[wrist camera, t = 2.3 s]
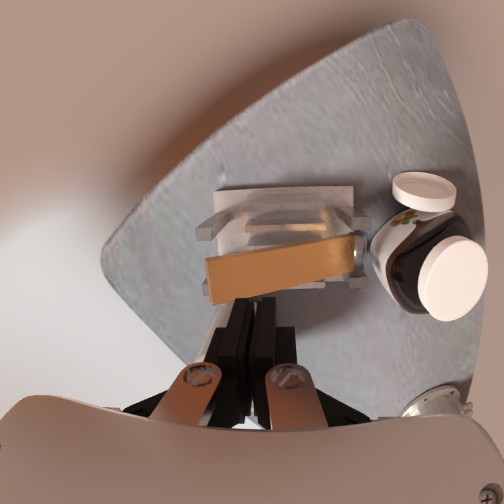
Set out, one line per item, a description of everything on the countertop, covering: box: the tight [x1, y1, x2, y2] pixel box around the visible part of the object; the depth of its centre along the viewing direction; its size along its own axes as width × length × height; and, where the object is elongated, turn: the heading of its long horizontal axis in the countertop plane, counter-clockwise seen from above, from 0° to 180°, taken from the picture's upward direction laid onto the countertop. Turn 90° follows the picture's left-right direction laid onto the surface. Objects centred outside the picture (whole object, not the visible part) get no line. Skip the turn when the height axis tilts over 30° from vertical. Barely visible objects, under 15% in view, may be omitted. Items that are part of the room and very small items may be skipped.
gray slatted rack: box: [195, 186, 371, 296], centre depth 25 cm, size 14×10×8 cm
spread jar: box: [370, 172, 488, 321], centre depth 22 cm, size 12×11×12 cm
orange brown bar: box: [205, 231, 367, 305], centre depth 20 cm, size 13×3×2 cm, turn 93°
